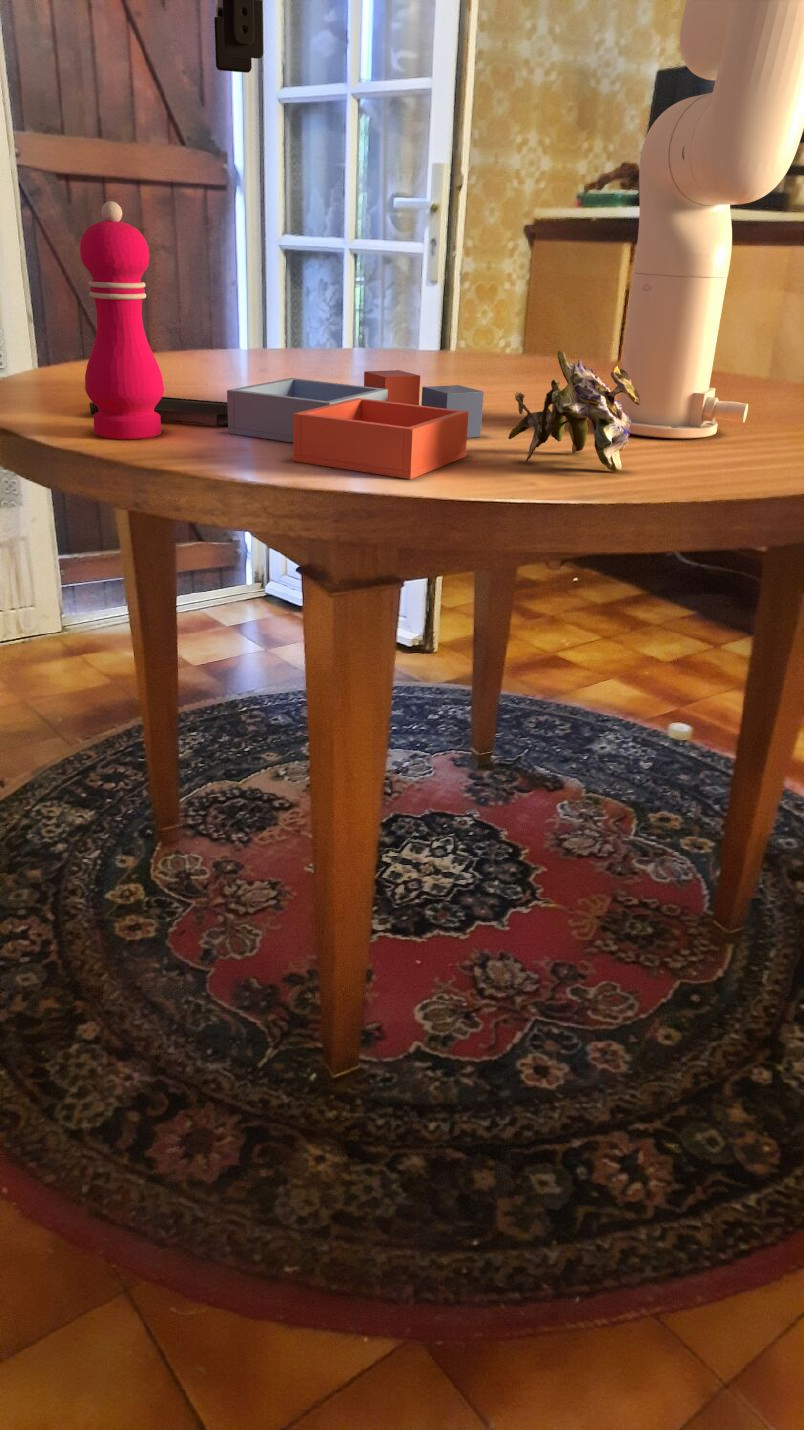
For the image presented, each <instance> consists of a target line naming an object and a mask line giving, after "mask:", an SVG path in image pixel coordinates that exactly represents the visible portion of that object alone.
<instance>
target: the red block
mask: <svg viewBox="0 0 804 1430" xmlns="http://www.w3.org/2000/svg"><path fill="white" fill-rule="evenodd" d="M363 386H364V387H373V388H380V389H381V388H382V389H388V399H387V401H388V402H396V403H404V404H412V405H420V391H421V389H420V388H421V375H419V374H416V373H411V372H407V371H404V370H399V369H395V370H394V369H390V370H389V369H388V370H365V371H364V372H363Z"/></svg>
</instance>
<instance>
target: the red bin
mask: <svg viewBox="0 0 804 1430" xmlns="http://www.w3.org/2000/svg"><path fill="white" fill-rule="evenodd" d="M468 415H469V412H468V411H460V410H453V409H445V408H436V407H428V406H421V404H419V405H412V404H404V403H396V402H388V401H380V400H371V399H363V398H356V399H352V400H348V401H344V402H339V403H335V404H331V405H327V406H323V407H319V408H315V409H311V410H307V411H302V412H298V413H294V414H293V443H292V445H293V446H292V447H293V449H292V450H293V455H292V461H293V462H296V463H304V464H310V465H315V466H316V465H317V466H322V467H329V468H336V469H341V470H346V471H347V470H348V471H353V472H354V471H355V472H359V473H361V472H362V473H368V474H373V475H380V476H387V477H393V478H400V479H405V480H412V479H414V478H417V477H419V476H422V475H424V474H427V473H429V472H431V471H434V470H437V469H439V468H442V467H443V466H446V465H448V464H449V465H450V464H451V463H453V462H456V461H458V460H460V459H463V458H465V457H466V456H467V445H468V444H467V442H468V438H467V430H468Z"/></svg>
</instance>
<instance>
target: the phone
mask: <svg viewBox="0 0 804 1430" xmlns="http://www.w3.org/2000/svg"><path fill="white" fill-rule="evenodd" d="M97 412H99V409H98V407H97V406H96V405H95V404H94V403H93V402H92V401H89V413H90V415H91V416H93V415H94V414H95V413H97ZM154 412H156V413H158V414H159V415H160V416H161V422H166V423H179V424H190V425H200V426H201V425H202V426H212V427H213V426H214V427H215V426H216V427H219V426H228V407H227V401H218V400H207V399H193V398H181V397H171V396H170V397H169V396H162V398H161V399H160V401H159V402H158V403H157V405H156V406H155V408H154Z"/></svg>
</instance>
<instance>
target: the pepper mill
mask: <svg viewBox="0 0 804 1430" xmlns="http://www.w3.org/2000/svg"><path fill="white" fill-rule="evenodd" d="M101 217H102V218H103V221H99V222H96V223H94V224H92V225H90V226H88V227H87V229H85V231H84V232H83V233H82V235H81V239H80V244H79V254H80V260H81V263H82V265H83V266H84V268H85V269H86V270H87V271H88V273H89V274H90V276H91V280H89V281H88V283H87V284H88V286H89V291H90V292H89V294H88V295H89V297H91V298H93V299H94V304H95V311H96V332H95V340H94V343H93V346H92V349H91V352H90V356H89V358H88V361H87V363H86V368H85V373H84V390H85V393H86V395H87V397H88V398H89V400H90V402H93V403H94V404H95V405H96V406H97V407H98V409H99V412H97V413H95V414H94V415H92V418H93V419H92V420H93V431H94V433H95V435H96V436H98V437H101V438H105V439H113V440H144V439H150V438H155V437H158V436H160V435H161V434H162V421H161V416H160V415H159V414H158V413H156V412H154V408H155V406H156V405H157V403H158V402H159V401H160V399H161V398H162V397H164V394H165V384H164V377H163V374H162V371H161V368H160V365H159V363H158V361H157V359H156V357H155V355H154V353H153V351H152V349H151V346H150V344H149V342H148V339H147V336H146V332H145V328H144V322H143V321H144V320H143V300H145V299H146V298H147V294H146V293H145V292H146V289H145V288H146V286H147V285H146V283H145V282H144V281H142V277H143V275H144V274H145V272H146V271H147V269H148V267H149V264H150V250H149V245H148V243H147V240H146V238H145V237H144V235H143V234H142V232H140V230H138V229H137V228H136V227H134V226H132V225H131V224H129V223H126V222H123V221H121V220H122V218H123V210H122V207H121V206H120V204H118V203H117V202H116V201H111V200H110V201H109V200H108V201H106V202H105V203H104V204H102V206H101Z"/></svg>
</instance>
